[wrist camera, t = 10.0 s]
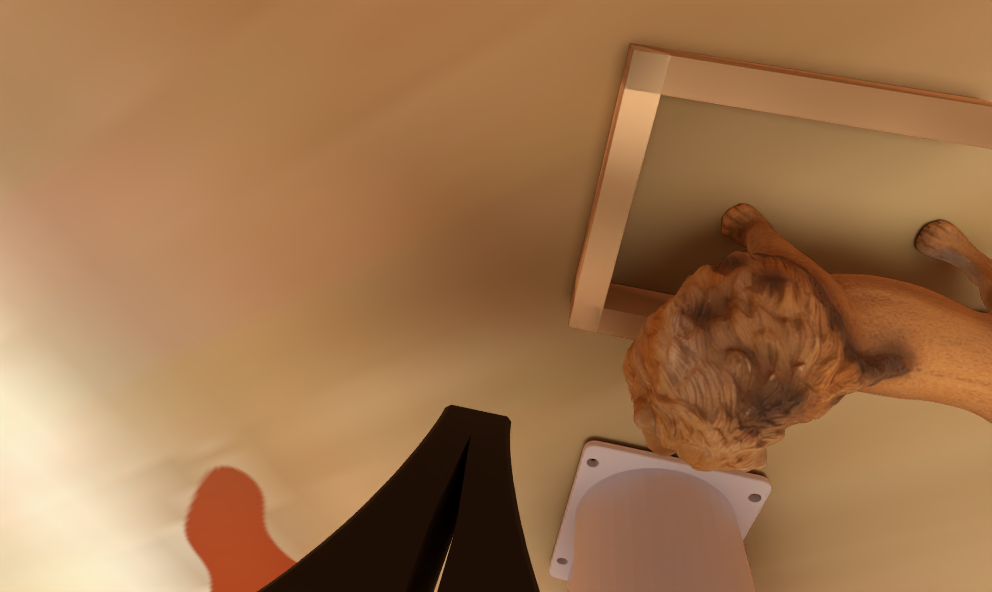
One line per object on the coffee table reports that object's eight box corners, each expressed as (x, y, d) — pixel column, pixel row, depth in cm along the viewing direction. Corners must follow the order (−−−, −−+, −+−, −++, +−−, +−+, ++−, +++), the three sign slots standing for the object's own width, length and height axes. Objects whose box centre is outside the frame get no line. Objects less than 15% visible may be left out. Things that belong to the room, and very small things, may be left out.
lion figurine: (613, 329, 21) (623, 522, 14) (618, 198, 19) (634, 343, 11) (1050, 341, 19) (1365, 586, 11) (1123, 191, 16) (1597, 373, 9)
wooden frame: (838, 351, 20) (861, 385, 19) (570, 299, 21) (568, 327, 19) (978, 98, 16) (1024, 111, 14) (629, 43, 17) (633, 49, 15)
